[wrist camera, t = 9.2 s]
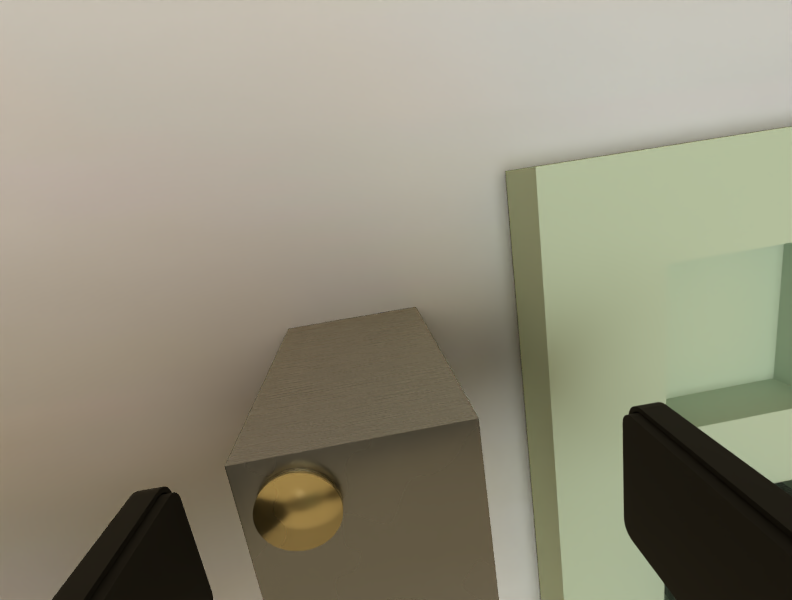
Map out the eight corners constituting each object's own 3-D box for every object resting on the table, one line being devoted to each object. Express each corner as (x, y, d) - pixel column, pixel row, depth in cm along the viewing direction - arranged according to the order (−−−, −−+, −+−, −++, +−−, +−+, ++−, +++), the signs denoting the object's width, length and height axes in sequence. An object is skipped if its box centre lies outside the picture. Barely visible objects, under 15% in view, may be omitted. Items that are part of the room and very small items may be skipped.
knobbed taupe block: (431, 419, 17) (503, 622, 9) (314, 441, 17) (279, 671, 9) (415, 306, 16) (481, 424, 8) (288, 328, 15) (221, 473, 7)
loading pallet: (808, 695, 23) (930, 830, 18) (553, 757, 22) (610, 914, 17) (883, 111, 16) (1121, 75, 11) (505, 171, 15) (580, 160, 10)
